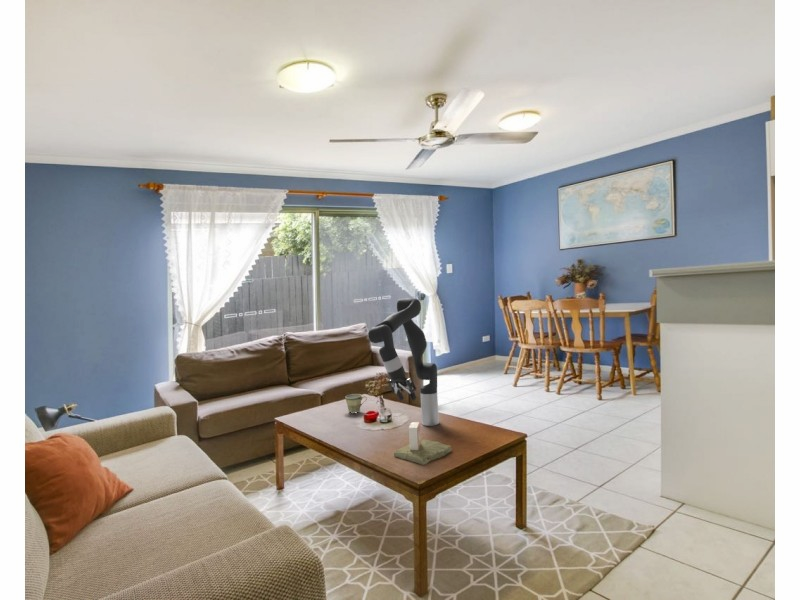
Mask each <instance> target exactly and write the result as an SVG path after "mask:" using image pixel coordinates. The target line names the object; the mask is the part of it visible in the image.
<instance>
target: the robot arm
mask: <svg viewBox="0 0 800 600" xmlns="http://www.w3.org/2000/svg"><path fill="white" fill-rule="evenodd" d="M396 310H397V312H394V313H392V314H390V315H388V316H387V317H386V318H384V319H383V321H381V322H379V323H377V324H376V325H374V326H372V327H371V328H370V329H369V331H368V333H367V338H368V340H369V342H371V343H373V344H380V343H383V344H384V345H383V346H381V347H380V348H379V349H378V350H379V351H378V352H379V355H380V359H381V361H382V363H383V366H384V369H385V370H386V374H387V376H388V378H389V380H388V384H389V387H390V390H391V392H392V393H395V394H396V396H397V398H398V400H399V401H400V402H401V401H403V400H404V399H405V398H404V396H403V393H402V391H401V389H402V390H404V391H406V392H407V393H408V394H409V398H410V399H411V401H412V402H415V401H416V399H417V396H416V394H415V391H416V390H417V387H416V385H415V383H414V381H413V378H412V377H409V378H406V374H407V373H406V370H405V368H404V365H403V364H402V363H403V362H402V361H401V359H400V357H399V355H398V353H397V350H396V348H395V343H394V336H393V333H394V332H396V330H398V329H400V327H401V326H403V329H404V332H405V336H406V338H407V343H408V346H409V348H410V349H409V350H410V352H411V356H412V359H413V364H414V370H415V374H416V376H417V379H418V380H420V381H421V380H422V381H428V382H429V383H428V384H425V385H422V386H421V387H420V389H419V391H420V410H421V425H423V426H426V427H432V426H437V425H439V423H440V421H439V419H440V418H439V399H438V367H437V364H436V363H435V362H423V359H422V358H423V355H424V354H425V352H426V349H427V346H428V344H427V343H428V342H427V339H426V335H425V333H424V331H423V330H422V329H421V327H419V326H418V325H417V324H416V323H415V322H414V320H413V319H414V318H416V317H418V315H420V313H421V310H422V303H421V302H420V299H417V298H413V297H412V298H411V297H409V298H408V297H406V298H399V299H398V300H397V302H396Z"/></svg>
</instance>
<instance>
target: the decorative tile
mask: <svg viewBox="0 0 800 600" xmlns="http://www.w3.org/2000/svg"><path fill="white" fill-rule="evenodd" d="M451 452H452V446H451V445H447V444H444V443H441V442H440V441H432V440H430V439H423V438H421V445H420V448H419V450H410V443H408V444H407V445H404V446H402V447H401V448H398V449H397V450H395V451H394V452H393V456H394V457H396V458H398V459H402V460H405V461H409V462H412V463H417V464H419V465H423V466H424V465H427V464H428V463H429V462H431V461H434V460H436V459H440V458H442V457H444V456H446V455H447V454H449V453H451Z"/></svg>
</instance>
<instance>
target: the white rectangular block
mask: <svg viewBox="0 0 800 600" xmlns="http://www.w3.org/2000/svg"><path fill="white" fill-rule="evenodd" d="M421 435H422V434H421V422H420V421H414V422H413V421H412V422H411V423H409V426H408V437H409V438H408V439H409V441H408V442H409V444H410V450H419V448H420V445H421V439H422V436H421Z"/></svg>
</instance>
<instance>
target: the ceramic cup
mask: <svg viewBox="0 0 800 600" xmlns="http://www.w3.org/2000/svg"><path fill="white" fill-rule="evenodd" d="M363 399H365V400H364V401H363V402H362V400H363ZM367 399H368V397H366V396H362V394H360V393H352V394H347V395H345V402H346V404H347V405H346V406H347V409H348V413H349V412H351V413H355V412H359V413H360V412H361V407H362V405H363V404H364V403H366V401H367ZM351 413H350V414H351Z"/></svg>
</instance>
